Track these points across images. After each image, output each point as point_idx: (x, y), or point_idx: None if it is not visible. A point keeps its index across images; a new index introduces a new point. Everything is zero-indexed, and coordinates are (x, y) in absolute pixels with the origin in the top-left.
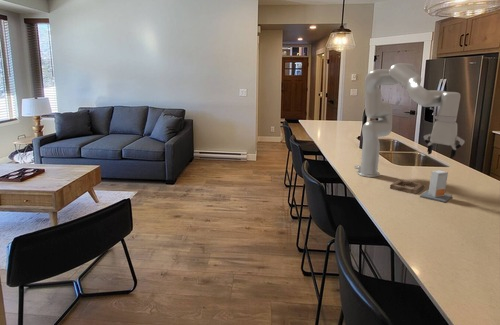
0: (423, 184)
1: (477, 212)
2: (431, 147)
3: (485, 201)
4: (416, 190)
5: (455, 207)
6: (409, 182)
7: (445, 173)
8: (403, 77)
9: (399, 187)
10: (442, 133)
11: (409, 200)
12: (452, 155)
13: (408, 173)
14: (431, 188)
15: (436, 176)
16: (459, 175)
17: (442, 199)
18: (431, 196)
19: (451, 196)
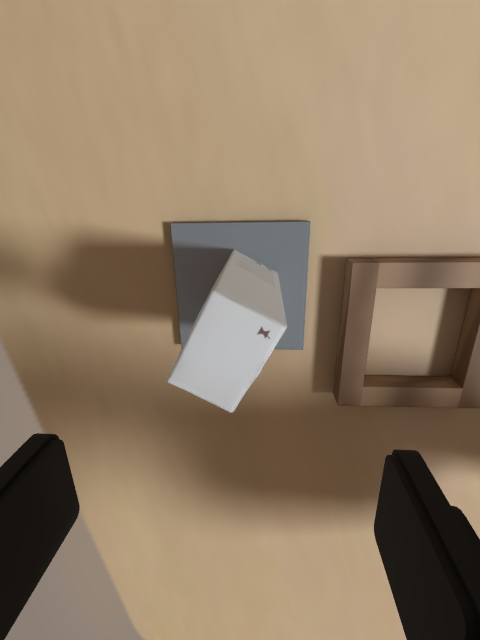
0: (341, 403)
1: (4, 184)
2: (434, 624)
3: (57, 383)
4: (349, 279)
5: (105, 181)
6: (418, 389)
7: (179, 355)
8: None
9: (455, 261)
10: None
11: (343, 96)
12: (7, 470)
13: None
14: (262, 272)
15: (232, 287)
16: (257, 636)
17: (191, 242)
18: (253, 252)
19: (182, 344)
